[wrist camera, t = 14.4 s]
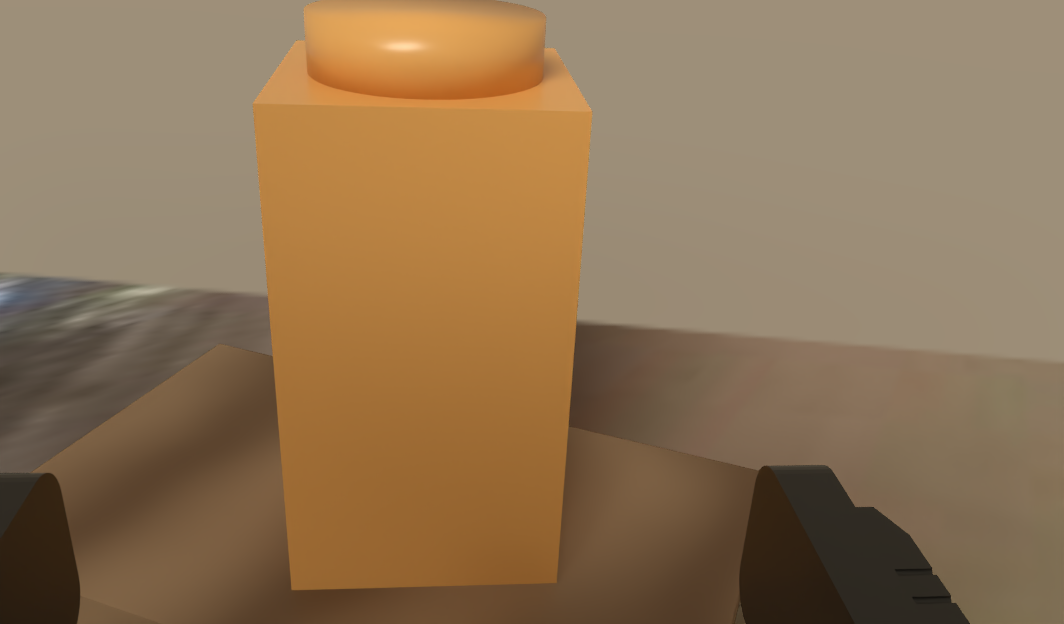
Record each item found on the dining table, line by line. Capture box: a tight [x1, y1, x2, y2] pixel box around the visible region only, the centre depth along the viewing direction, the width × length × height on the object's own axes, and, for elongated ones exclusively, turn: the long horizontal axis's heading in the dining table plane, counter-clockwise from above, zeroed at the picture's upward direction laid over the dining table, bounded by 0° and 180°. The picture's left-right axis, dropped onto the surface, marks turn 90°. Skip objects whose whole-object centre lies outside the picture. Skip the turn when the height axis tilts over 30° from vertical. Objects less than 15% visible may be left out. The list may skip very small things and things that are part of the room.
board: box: [31, 344, 759, 624], centre depth 24 cm, size 18×11×6 cm, turn 70°
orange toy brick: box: [253, 0, 592, 590], centre depth 22 cm, size 6×6×12 cm
